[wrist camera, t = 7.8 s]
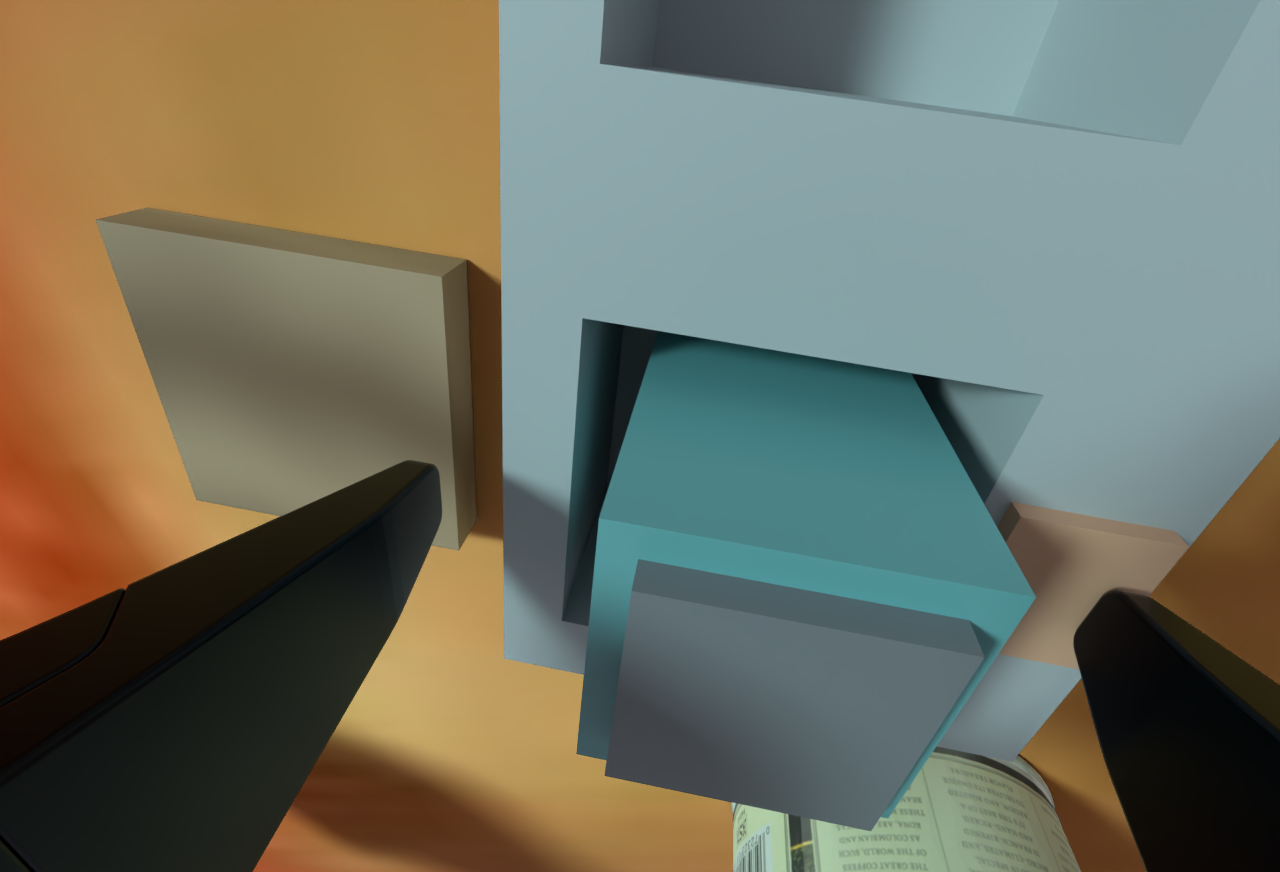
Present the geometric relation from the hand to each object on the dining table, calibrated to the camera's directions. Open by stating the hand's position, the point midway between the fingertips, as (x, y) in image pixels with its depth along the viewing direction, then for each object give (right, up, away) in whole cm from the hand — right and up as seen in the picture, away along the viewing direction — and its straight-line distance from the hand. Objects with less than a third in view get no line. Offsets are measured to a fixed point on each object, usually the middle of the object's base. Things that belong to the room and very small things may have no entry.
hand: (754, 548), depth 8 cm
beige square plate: (-9, +3, +6) cm, 11 cm away
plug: (+1, +2, +4) cm, 4 cm away
